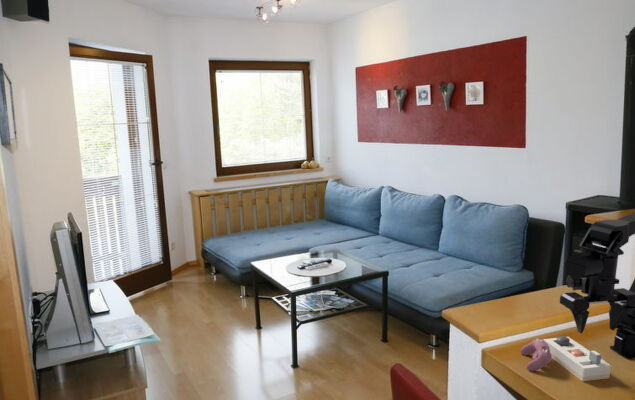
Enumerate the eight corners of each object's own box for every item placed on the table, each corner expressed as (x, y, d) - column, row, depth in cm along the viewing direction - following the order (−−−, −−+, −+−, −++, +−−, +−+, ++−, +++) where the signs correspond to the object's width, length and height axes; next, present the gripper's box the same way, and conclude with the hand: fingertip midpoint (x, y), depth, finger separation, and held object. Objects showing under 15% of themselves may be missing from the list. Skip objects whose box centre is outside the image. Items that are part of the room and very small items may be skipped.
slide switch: (592, 366, 126) (594, 350, 125) (599, 371, 123) (601, 354, 123) (588, 367, 126) (589, 350, 125) (595, 372, 123) (597, 355, 122)
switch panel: (566, 348, 138) (568, 336, 138) (609, 378, 123) (610, 365, 123) (542, 350, 137) (543, 339, 136) (582, 381, 122) (583, 368, 121)
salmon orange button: (577, 356, 131) (578, 349, 131) (586, 362, 128) (586, 354, 128) (567, 357, 130) (568, 350, 130) (575, 363, 127) (576, 355, 127)
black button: (563, 342, 136) (564, 335, 136) (571, 347, 133) (572, 340, 133) (554, 343, 136) (554, 336, 135) (561, 348, 133) (562, 341, 132)
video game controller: (542, 378, 126) (558, 357, 124) (525, 369, 127) (541, 347, 125) (533, 359, 136) (548, 338, 134) (518, 351, 136) (532, 330, 134)
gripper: (611, 260, 135) (604, 315, 138) (548, 264, 131) (543, 321, 134) (645, 274, 124) (637, 333, 127) (578, 279, 121) (571, 340, 124)
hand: (596, 331), depth 128 cm, fingers open, 9 cm apart
